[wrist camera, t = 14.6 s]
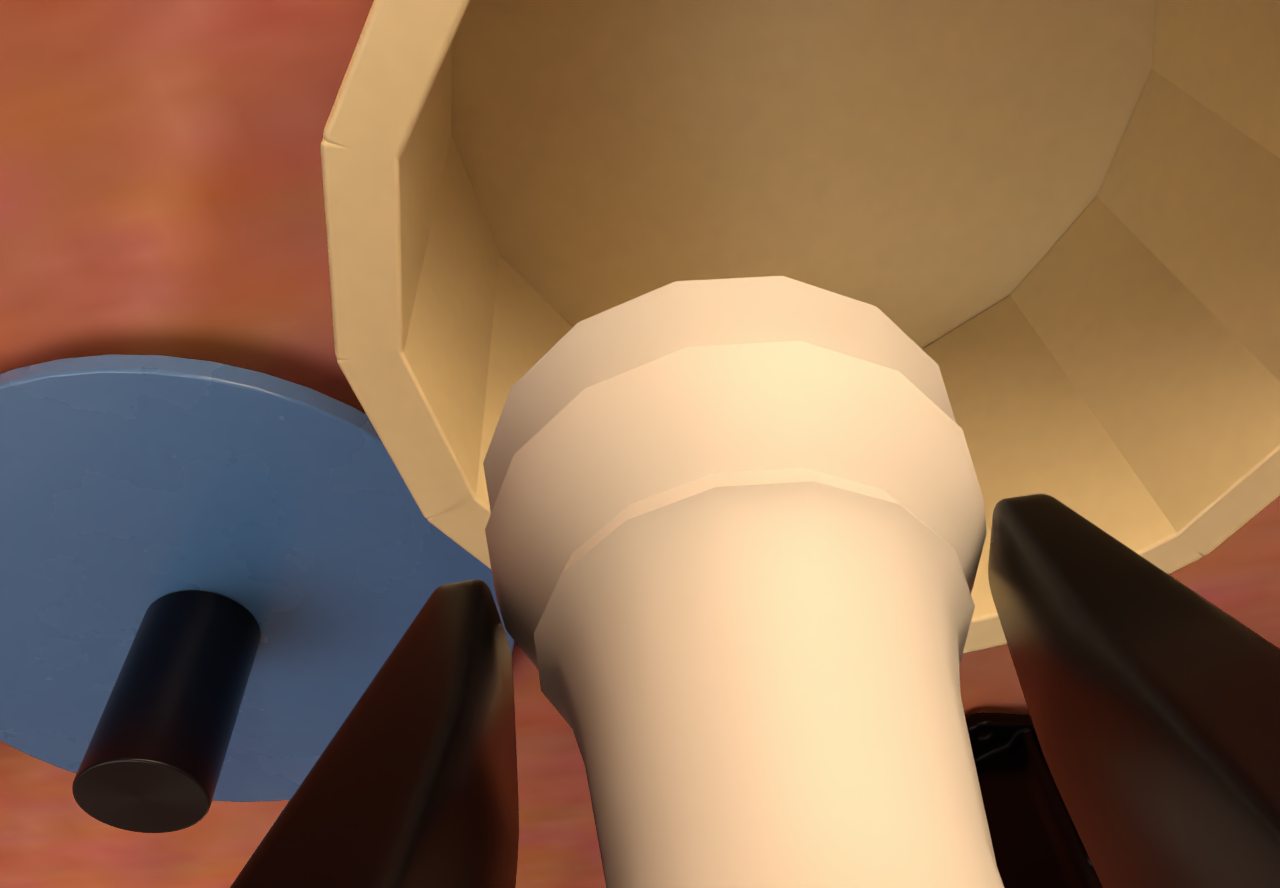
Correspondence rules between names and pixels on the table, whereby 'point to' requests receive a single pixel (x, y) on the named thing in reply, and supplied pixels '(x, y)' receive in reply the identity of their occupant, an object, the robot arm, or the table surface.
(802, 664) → the rook chess piece
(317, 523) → the lid
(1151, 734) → the robot arm
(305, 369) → the table surface
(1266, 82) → the tin
